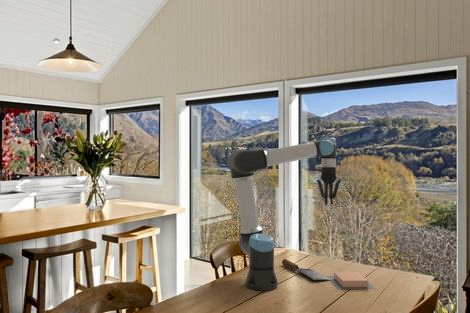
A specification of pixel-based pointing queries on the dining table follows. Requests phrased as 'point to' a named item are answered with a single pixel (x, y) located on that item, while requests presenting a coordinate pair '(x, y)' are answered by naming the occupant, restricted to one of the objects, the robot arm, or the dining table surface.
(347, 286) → the tile
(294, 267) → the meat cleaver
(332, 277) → the mat
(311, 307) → the dining table surface
